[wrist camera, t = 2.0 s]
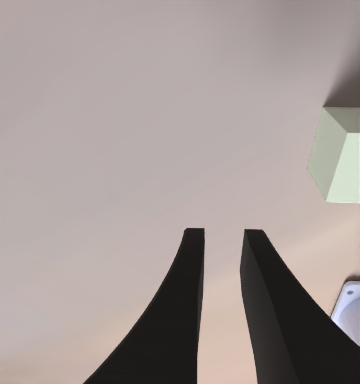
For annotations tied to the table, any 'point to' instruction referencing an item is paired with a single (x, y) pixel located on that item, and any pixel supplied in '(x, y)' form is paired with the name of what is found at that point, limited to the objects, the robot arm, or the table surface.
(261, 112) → the table surface
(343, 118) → the sage bar
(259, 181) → the table surface
